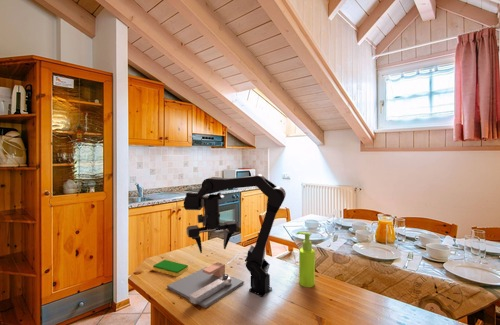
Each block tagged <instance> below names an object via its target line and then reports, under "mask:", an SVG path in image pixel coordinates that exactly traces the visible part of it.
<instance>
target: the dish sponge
mask: <svg viewBox="0 0 500 325" xmlns="http://www.w3.org/2000/svg"><path fill="white" fill-rule="evenodd" d="M152 266H153V267H152V269H153V271H155V272H159V273H163V274H165V275H166V274H167V275H170V276H174V277H179V276H181V275H182V274H184V273H185V272H186V271H187V272H188V269H189V266H188V265H187V264H184V263H180V262H176V261H171V260H167V259H163V260H161V261H160V262H157V263H155V264H154V265H152Z"/></svg>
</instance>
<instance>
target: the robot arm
mask: <svg viewBox="0 0 500 325" xmlns="http://www.w3.org/2000/svg"><path fill="white" fill-rule="evenodd" d="M249 187H250V188H252V187H256V188H257V189H259V190H260V192H262V194H263V195H265V196H266V197H267V202H266V212H265V215H264V217H263V220H262V223H261V227H260V230H259V232H258V236H257V239H256V242H255V244H254V246H253V245H250V246H249V249H248V250H247V255H246V258H245V259H244V262H245V268H246V269H247V271H248V272H249V274H250V275H251V276H250V288H248V292H250V293H253V294H256V295H258V296H261V297H264V296H265V295H267V294H268V293H269V292H271V291H272V289H273V288H272V287H271V285H270V284H271V282H270V281H271V278H270V277H271V275H270V274H269V273H268V272H269V268H270V265H271V264H270V262H268V261H267V260H266V259H265V257H266V255H265V254H266V246H267V242H268V240H269V236H270V234H271V230H272V228H273V226H274V225H273V224H274V222H275V219H276V216H277V213H278V212H279V210H280V208H281V206H282V204H283V203H284V201H285V198H286V193H287V192H286V190H285V189H284V188H283V187H281V186H277V185H276V184H275V183H273V182H271V181H270V180H269V179H267V178H265V177H264V175H263V174H256V175H250V176H239V177H238V176H237V177H232V178H226V177H219V176H212V177H209V178H204V180H203V181H202V182H201V187H200V189H199V190H198V192H191V191H190V192H189V191H188V192H186V193H185V197H184V201H183V209H184V210H185V211H202V208H203V212H204V213H203V214H197V223H198V224H202V227H199V226H198V225H196V224H195V225H189V226H187V227H186V236H187V237H188V238H191V239H192V240H195V242H196V245H197V247H198V249H199V250H198V251H199V253H200V254H203V252H202V251H203V248H202V240H201V238H202V237H201V236H200V234H201V233H209V232H217V231H222V230H223V249H224V250H226V248H227V245H228V243H229V241H230V239H231V237H232V235H233V234H235V232H238V231H239V230H238V226H239V225H238V223H236V222H235V221H233V220H229V221H224V222H223V224H221V220H220V217H221V214H220V200H223V199H224V198H225V195H223V194H222V193H221V191H224V190H230V189H242V188H249ZM206 195H207V196H206Z"/></svg>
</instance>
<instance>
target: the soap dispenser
mask: <svg viewBox="0 0 500 325" xmlns="http://www.w3.org/2000/svg"><path fill="white" fill-rule="evenodd" d="M296 234H297V235H304V240H302V247H301V248H300V249H299V252H298V254H299V256H298V259H299V262H298V263H299V265H298V266H299V267H298V268H299V270H298V273H299V276H298V277H299V279H298V281H299V282H298V283H299V285H300V286H302V287H304V288H312V287H315V284H316V282H315V281H316V280H315V277H316V276H315V275H316V271H315V270H316V264H315V263H316V250H315V249H313V248H312V245H313V244H312V243H313V242H312V241H311V240H310V237H311V236H312V233H311V232H308V231H303V230H302V231H297V232H296Z"/></svg>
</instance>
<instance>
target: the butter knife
mask: <svg viewBox="0 0 500 325" xmlns="http://www.w3.org/2000/svg"><path fill="white" fill-rule="evenodd" d="M240 256H242V253H237V254H235V255H234V256H233V257H232V258H231V259H230V260H229V261H228V262H227V263H226V265H230V264H231V263H232V262H234V261H235V260H237V259H238V258H239V257H240ZM234 259H235V260H234Z"/></svg>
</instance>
